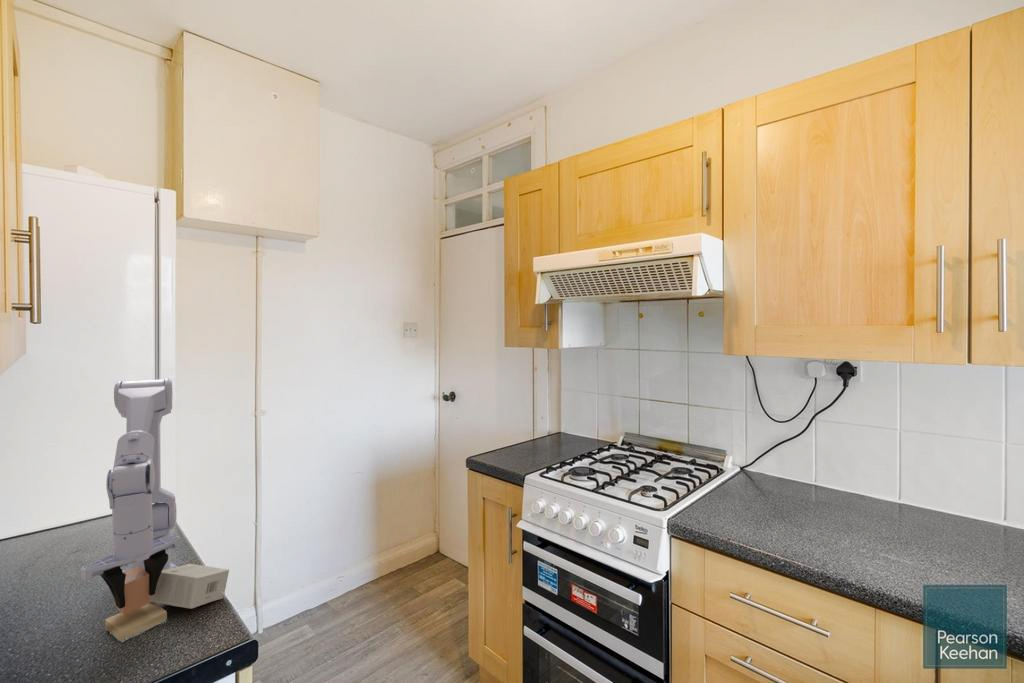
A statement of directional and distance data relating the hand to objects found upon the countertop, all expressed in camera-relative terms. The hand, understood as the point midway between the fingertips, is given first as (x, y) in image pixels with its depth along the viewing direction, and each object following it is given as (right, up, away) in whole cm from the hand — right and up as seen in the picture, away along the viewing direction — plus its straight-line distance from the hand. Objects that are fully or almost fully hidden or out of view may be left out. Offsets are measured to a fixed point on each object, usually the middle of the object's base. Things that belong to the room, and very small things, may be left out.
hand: (135, 599), depth 86 cm
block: (-2, -2, +1) cm, 3 cm away
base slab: (0, -5, 0) cm, 5 cm away
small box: (+10, -1, +6) cm, 12 cm away
